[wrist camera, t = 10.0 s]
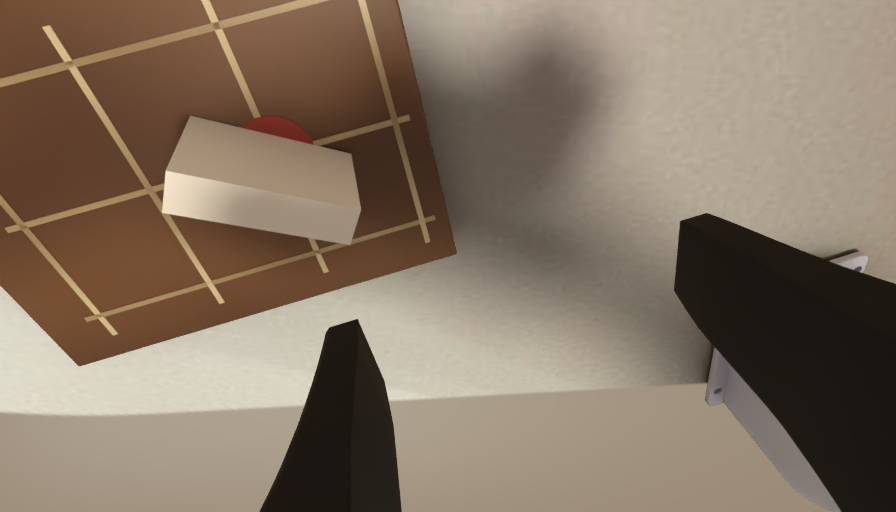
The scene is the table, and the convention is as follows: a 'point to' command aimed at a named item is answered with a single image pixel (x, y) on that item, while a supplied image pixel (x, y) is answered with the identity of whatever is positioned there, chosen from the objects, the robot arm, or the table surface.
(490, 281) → the table surface
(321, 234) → the eraser
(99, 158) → the board
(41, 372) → the table surface
